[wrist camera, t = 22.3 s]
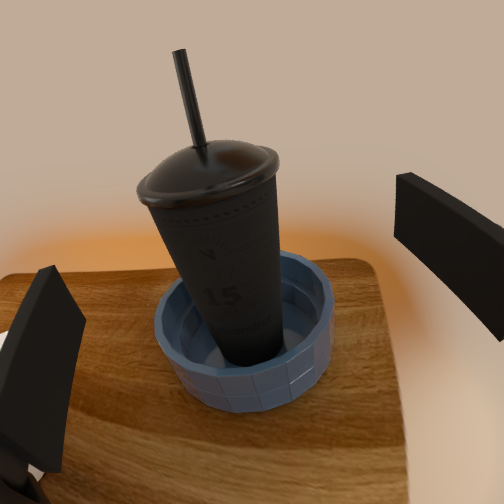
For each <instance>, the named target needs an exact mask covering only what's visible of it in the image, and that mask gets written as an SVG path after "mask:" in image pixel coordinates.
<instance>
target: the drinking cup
mask: <svg viewBox="0 0 504 504" xmlns="http://www.w3.org/2000/svg"><path fill="white" fill-rule="evenodd" d="M172 54H173V59H174V63H175V68H176V72H177V77H178V81H179V86H180V90H181V94H182V99H183V103H184V107H185V111H186V115H187V120H188V124H189V128H190V132H191V137H192V140H193V145H192V146H189V147H186V148H184V149H182V150H180V151H178V152H176V153H174V154H172V155H171V156H169V157H168V158H166V159H165V160H163V161H162V162H161V163H160V164H159V165H158V166H157V167H156V168H155V169H154V170H153V171H152V172H151V173H149V174H148V175H147V176H146V177H144V178H143V179H142V180H141V181H140V183H139V184H138V186H137V191H136V192H137V196H138V198H139V200H140V202H141V203H142V204H144V205H146V206H148V209H149V211H150V213H151V215H152V217H153V219H154V222H155V224H156V226H157V228H158V230H159V233H160V235H161V237H162V239H163V241H164V243H165V245H166V247H167V249H168V251H169V254H170V255H171V258H172V259H173V262H174V264H175V266H176V268H177V270H178V272H179V274H180V276H181V278H182V280H183V282H184V284H185V286H186V288H187V290H188V292H189V294H190V295H191V297H192V299H193V301H194V303H195V305H196V307H197V309H198V311H199V313H200V315H201V316H202V318H203V320H204V322H205V324H206V326H207V328H208V329H209V331H210V333H211V335H212V337H213V339H214V340H215V342H216V344H217V346H218V348H219V349H220V351H221V353H222V355H223V356H224V358H225V359H226V360H227V361H229V362H230V363H232V364H234V365H236V366H240V367H251V366H254V365H257V364H260V363H263V362H266V361H269V360H272V359H273V358H274V357H275V356H276V355H277V354H278V353H279V351H280V350H281V348H282V345H283V313H282V287H281V264H280V243H279V226H278V225H279V224H278V206H277V189H276V172H277V171H278V169H279V165H280V163H279V162H280V161H279V157H278V154H277V153H276V152H275V151H274V150H272V149H270V148H267V147H263V146H256V145H253V144H249V143H246V142H242V141H235V140H214V141H207V142H206V138H205V134H204V130H203V125H202V121H201V117H200V112H199V107H198V103H197V98H196V94H195V89H194V85H193V80H192V76H191V72H190V67H189V62H188V57H187V53H186V49H180V50H177V51H173V52H172Z"/></svg>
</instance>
